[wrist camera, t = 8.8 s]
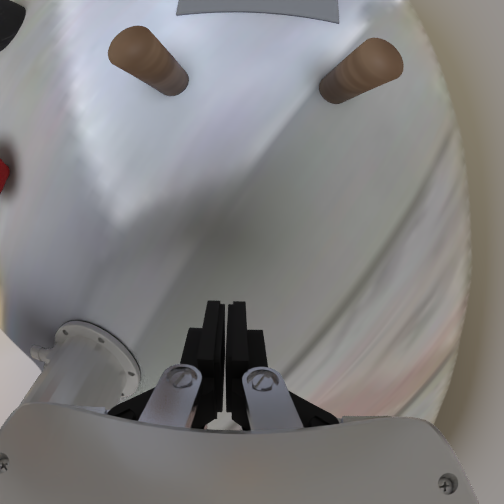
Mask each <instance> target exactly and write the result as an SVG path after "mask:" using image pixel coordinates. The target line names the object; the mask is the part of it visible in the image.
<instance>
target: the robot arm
mask: <svg viewBox="0 0 504 504" xmlns="http://www.w3.org/2000/svg"><path fill="white" fill-rule="evenodd" d="M30 354H31V357H32V358H34V359H37V360H39V361H44V362H45V364H44V370H43V371H42V373H41V374H40V375H39V377H38V378H37V380H36V381H35V383H34V384H33V386H32V387H31V388H30V390H29V392H28V393H27V395H26V396H25V397H24V399H23V401H22V402H21V404H20V405H19V407H18V408H17V409H15V410H14V411H13V412H12V413H11V415H10V416H9V417H8V419H7V420H6V421H5V423H4V424H3V426H2V427H1V429H0V504H479V502H478V500H477V497H476V495H475V493H474V490H473V488H472V486H471V484H470V482H469V479H468V478H467V476H466V473H465V471H464V469H463V467H462V465H461V463H460V461H459V459H458V458H457V456H456V454H455V452H454V451H453V449H452V447H451V446H450V444H449V443H448V441H447V440H446V438H445V437H444V436H443V434H442V433H441V432H440V431H439V430H438V429H437V428H436V427H435V426H434V425H433V424H432V423H430V422H428V421H426V420H423V419H419V418H413V417H392V416H343V417H342V419H340V418H336V417H335V416H334V415H332V414H331V413H329V412H327V411H325V410H323V409H321V408H319V407H317V406H315V405H313V404H312V403H310V402H308V401H306V400H304V399H302V398H301V397H299V396H297V395H295V394H293V393H292V392H290V391H288V389H287V387H286V384H285V382H284V380H283V377H282V376H281V374H280V373H279V372H277V371H276V370H274V369H272V368H268V364H267V357H266V350H265V343H264V336H263V330H247V322H246V303H245V302H239V301H233V304H229V305H228V322H227V340H226V412H232V420H234V421H235V422H236V423H238V424H239V425H240V426H241V431H234V430H209V429H207V424H208V423H209V422H211V421H212V420H214V419H217V412H222V408H223V385H224V364H225V304H220V301H208V302H207V307H206V313H205V318H204V323H203V328H189V330H188V334H187V338H186V342H185V346H184V350H183V354H182V358H181V362H180V364H177V365H173V366H170V367H169V368H167V369H166V370H165V371H164V372H163V374H162V376H161V378H160V380H159V382H158V383H157V385H156V387H155V388H153V389H151V390H148V391H146V392H144V393H142V394H140V395H138V396H136V397H134V398H131V399H129V400H127V401H125V402H123V403H120V404H118V401H119V399H120V398H123V397H128V396H130V395H132V394H133V393H135V392H136V390H137V388H138V386H139V383H140V371H139V367H138V365H137V363H136V361H135V359H134V358H133V356H132V355H131V353H130V352H129V351H128V350H127V349H126V348H125V347H124V345H122V344H121V343H120V342H119V341H118V340H117V339H116V338H114V337H113V336H112V335H110V334H109V333H108V332H106V331H104V330H103V329H101V328H99V327H97V326H94V325H92V324H90V323H86V322H82V321H70V322H67V323H65V324H63V325H62V326H61V327H60V328H59V329H58V331H57V332H56V335H55V346H54V348H48V349H45V348H43V347H40V346H37V345H32V347H31V349H30ZM117 404H118V405H117Z"/></svg>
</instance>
